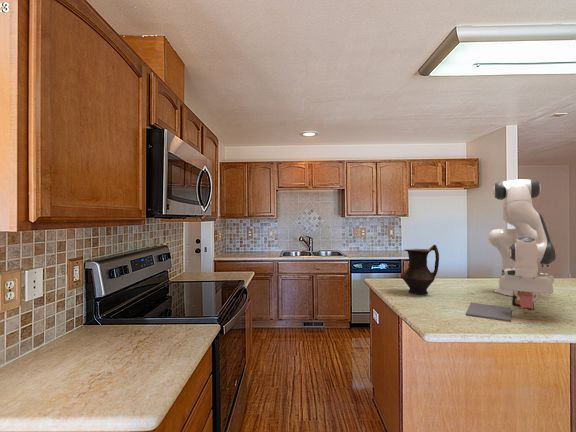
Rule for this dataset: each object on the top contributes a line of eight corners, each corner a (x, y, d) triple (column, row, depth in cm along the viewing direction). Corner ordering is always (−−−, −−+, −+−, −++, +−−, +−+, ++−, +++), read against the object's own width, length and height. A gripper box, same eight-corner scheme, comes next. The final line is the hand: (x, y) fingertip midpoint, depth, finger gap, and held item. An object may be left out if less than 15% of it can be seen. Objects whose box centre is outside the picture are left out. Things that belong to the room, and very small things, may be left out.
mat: (470, 303, 183) (470, 302, 183) (511, 309, 173) (511, 307, 173) (465, 315, 163) (465, 313, 163) (510, 321, 153) (510, 320, 153)
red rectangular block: (520, 303, 166) (520, 292, 166) (531, 304, 164) (531, 294, 163) (520, 307, 159) (520, 296, 159) (532, 308, 157) (532, 297, 157)
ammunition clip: (534, 310, 171) (534, 286, 171) (531, 310, 171) (531, 286, 171) (514, 304, 181) (514, 282, 181) (511, 304, 181) (511, 282, 181)
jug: (400, 295, 201) (400, 245, 201) (402, 289, 218) (402, 242, 218) (439, 299, 193) (439, 246, 193) (438, 292, 210) (438, 243, 210)
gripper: (553, 272, 158) (553, 302, 158) (501, 269, 169) (501, 296, 170) (554, 275, 153) (554, 305, 153) (500, 271, 164) (500, 299, 164)
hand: (526, 301), depth 161 cm, fingers closed on red rectangular block, 4 cm apart
